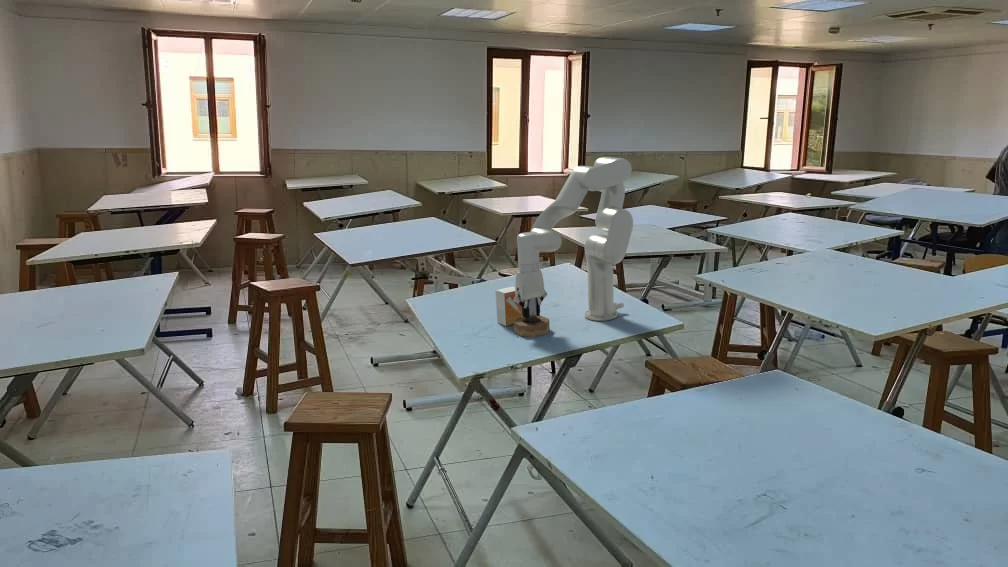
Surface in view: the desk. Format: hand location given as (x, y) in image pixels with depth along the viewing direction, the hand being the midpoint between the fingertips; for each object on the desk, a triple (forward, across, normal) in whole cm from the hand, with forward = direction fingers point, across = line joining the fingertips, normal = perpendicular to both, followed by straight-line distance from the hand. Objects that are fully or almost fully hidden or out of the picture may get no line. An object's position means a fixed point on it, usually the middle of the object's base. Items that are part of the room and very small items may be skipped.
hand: (531, 315), depth 255 cm
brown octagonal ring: (+6, 0, 0) cm, 6 cm away
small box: (+6, +1, -14) cm, 15 cm away
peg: (+4, 0, 0) cm, 4 cm away
